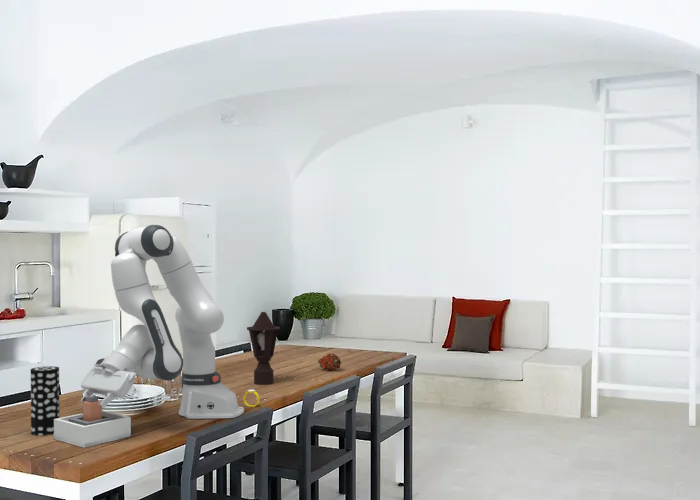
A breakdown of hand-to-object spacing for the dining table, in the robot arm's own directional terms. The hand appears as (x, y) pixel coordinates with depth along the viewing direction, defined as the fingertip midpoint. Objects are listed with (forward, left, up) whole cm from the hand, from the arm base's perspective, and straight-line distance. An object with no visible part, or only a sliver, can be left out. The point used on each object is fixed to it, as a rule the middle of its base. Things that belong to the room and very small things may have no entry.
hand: (92, 404), depth 230 cm
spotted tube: (+18, -5, -10) cm, 22 cm away
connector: (0, -1, -9) cm, 9 cm away
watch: (-36, -50, -10) cm, 63 cm away
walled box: (0, -1, -10) cm, 10 cm away
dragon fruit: (-51, -129, -10) cm, 139 cm away
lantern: (-29, -94, -10) cm, 99 cm away
